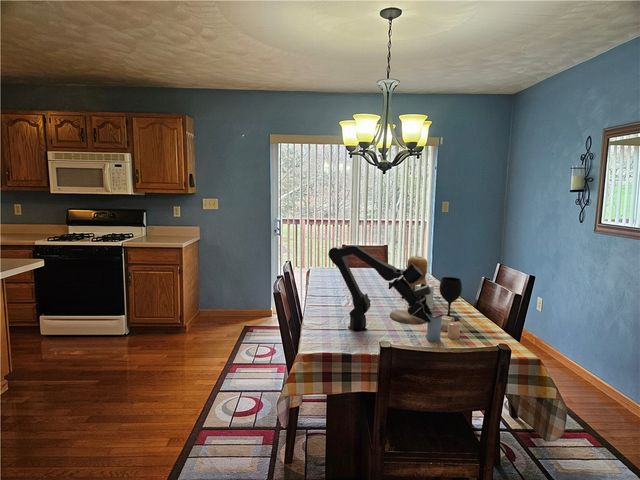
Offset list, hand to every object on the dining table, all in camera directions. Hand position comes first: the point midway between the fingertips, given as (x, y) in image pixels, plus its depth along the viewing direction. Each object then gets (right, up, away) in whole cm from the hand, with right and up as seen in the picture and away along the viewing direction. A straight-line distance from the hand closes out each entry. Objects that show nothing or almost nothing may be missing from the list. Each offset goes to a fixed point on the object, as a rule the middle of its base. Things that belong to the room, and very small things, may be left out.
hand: (430, 318), depth 163 cm
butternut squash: (+9, -2, +66) cm, 67 cm away
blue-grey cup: (+1, -9, +1) cm, 9 cm away
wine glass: (+17, -6, +30) cm, 35 cm away
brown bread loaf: (-3, -5, +29) cm, 30 cm away
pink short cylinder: (+11, -9, +4) cm, 14 cm away
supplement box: (+9, -4, +46) cm, 47 cm away
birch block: (+11, -8, +16) cm, 21 cm away
